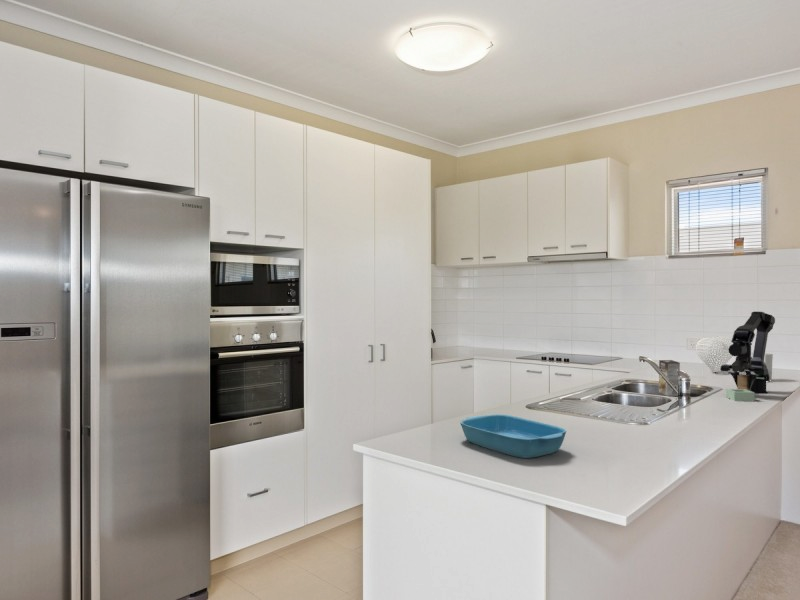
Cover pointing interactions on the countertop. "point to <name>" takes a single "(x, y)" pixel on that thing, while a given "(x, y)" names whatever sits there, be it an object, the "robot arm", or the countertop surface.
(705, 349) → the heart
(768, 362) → the skincare box
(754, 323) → the robot arm
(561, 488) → the countertop surface
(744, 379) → the peg
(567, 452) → the countertop surface
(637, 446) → the countertop surface
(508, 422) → the casserole dish
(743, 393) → the socket
